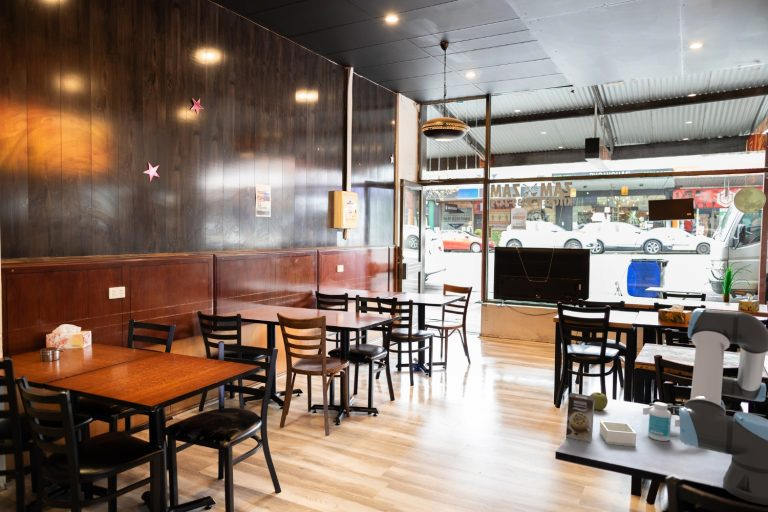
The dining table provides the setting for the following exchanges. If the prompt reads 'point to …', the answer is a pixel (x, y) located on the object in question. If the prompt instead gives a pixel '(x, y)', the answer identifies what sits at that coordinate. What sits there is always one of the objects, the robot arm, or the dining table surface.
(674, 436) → the dining table surface
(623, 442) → the holder
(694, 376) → the robot arm
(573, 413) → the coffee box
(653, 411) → the pill bottle
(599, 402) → the apple
